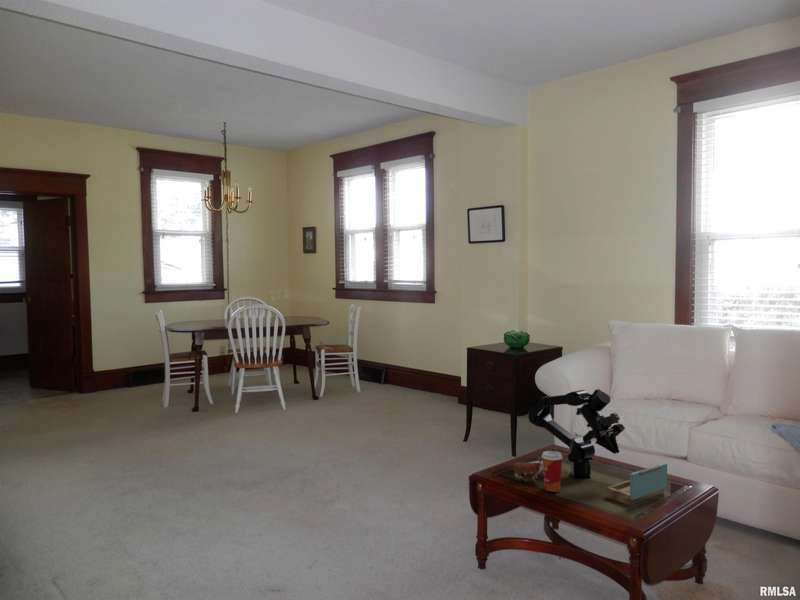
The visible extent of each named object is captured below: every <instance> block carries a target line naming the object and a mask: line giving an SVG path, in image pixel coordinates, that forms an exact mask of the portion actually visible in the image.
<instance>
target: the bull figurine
mask: <svg viewBox="0 0 800 600" xmlns="http://www.w3.org/2000/svg"><path fill="white" fill-rule="evenodd" d="M512 470H513V472H514V477H515V476H516V477H517V478H519V479H520V478H522V479H523V476H522V473H523V474H524V475H525V476H527V475H528V474H531V475H532V479H535V477H537V478H538V475H539V474H540V473H541V472H542V471H543V460H541V461H539V460H535V461H531V462H530V461H529V462H523V461H522V462H521V461H518V462H516V461H515V462H514V463H512ZM517 478H516V479H517ZM535 480H536V479H535Z"/></svg>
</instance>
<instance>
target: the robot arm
mask: <svg viewBox="0 0 800 600" xmlns="http://www.w3.org/2000/svg"><path fill="white" fill-rule="evenodd" d="M610 403H611V397H610V395H609V394H607V393H606V392H604V391H602V390H601V389H600V388H597V389H595V390H594V391H593V393H592V394H591V393H588V392H587V390H585V389H580V390H575V391H571V392H568V393H566V394H560V395H551V396H549V395H547V396H541V397H540V398H539V399H538V400H537V402H536V404H535V405H534V406H532V408H531V410H530V411H529V413H528V422H529V423H530V424H532V425H534V426H536V427H538V428H542V429H545V430H546V431H548V432H549V433H550V434H552V436H554V437H555V438H556V439H558V440H559V441H560V442H562V443H563V444H564V445H566V447H568V448H569V451H570V452H569V454H568V455H567V460H568V462H571V471H570V472H569V473H570V475H571V476H572V477H573V478H574V479H591V471H592V470H591V464H590V461H592V460H593V458H594V456H595V454H596V449H595V445H599V446H600V447H602V448H604V449H606V450H607V451H609V452H610V453H612V454H614V455H616V454H618V453H620V449H619V445H618V441H617V437H618V436H619V435H620V434H622V432H623V431H624V430H625V429H626V427H625V426H624V424H622V423H619V422H620V420H621V419H620V416H619V414H618V413H617V412H612V413H609V416H606V417H605V415H601V414H600V413H599V412H601V411H603V410H604V409H605V408H606V407H607V406H608V405H609V404H610ZM559 405H568V406H572V407H577V408H576V412H575V414H576V416H580V415H581V416H582V417H583V418H584V420H585V422H586V423H587V424H586V425H585V426H586V427H587V428H590V429H591V430H588V431H587V433H586V434H584V435H583V436H581V437H576V436H575V435H573V434H572V433H571V432H570V431H568V430H567V429H565V428H564V427H563V426H561V424H559V423H558V422H556V421H555V420H553V419H552V415H551V413H552V406H559ZM579 406H581V407H579ZM594 439H595V440H596V441H595V443H594V444H595V445H594V444H593V443H592V440H594Z"/></svg>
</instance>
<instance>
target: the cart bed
mask: <svg viewBox="0 0 800 600" xmlns="http://www.w3.org/2000/svg"><path fill="white" fill-rule="evenodd" d="M605 489H606V496H605V497H606V498H609V499H611V500H614V501H616V502H620V503H623V504H625V505H628V506H631V505H634V504H637V503H640V502H642V501H646V500H648V499H651V498H654V497H656V496H659V495H663V494H665V489H662V490H660V491H657V492H654V493H651V494H648V495H645V496H642V497H640V498H637V499H634V500H631V499H630V479H628V480H626V481H622V482H619V483H615V484H612V485H609V486H607V487H606V488H605Z"/></svg>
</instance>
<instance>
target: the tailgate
mask: <svg viewBox="0 0 800 600" xmlns="http://www.w3.org/2000/svg"><path fill="white" fill-rule="evenodd" d="M629 480H630V499H631V500H634V499H637V498H640V497H642V496H645V495H648V494H651V493H654V492H657V491H660V490H662V489H664V490H666V489H668V463H665V462H664V463H661V464H656V465H654V466H651V467H647V468H644V469H641V470H638V471H634V472H631V473H629Z"/></svg>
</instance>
